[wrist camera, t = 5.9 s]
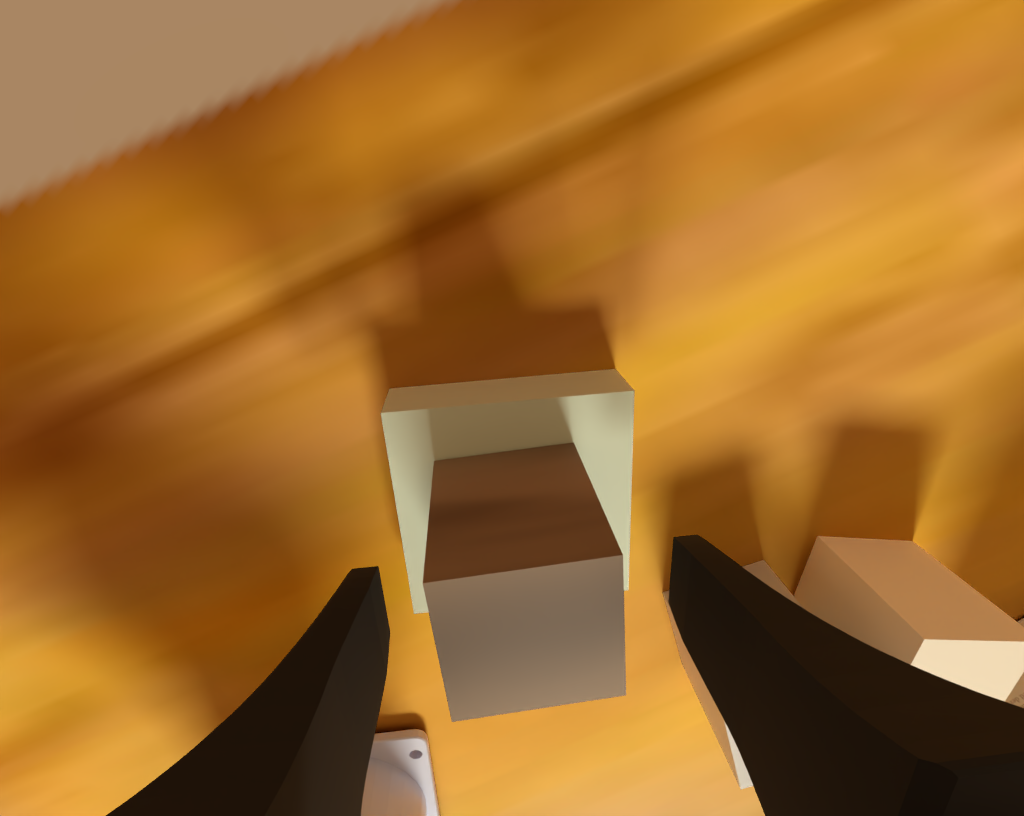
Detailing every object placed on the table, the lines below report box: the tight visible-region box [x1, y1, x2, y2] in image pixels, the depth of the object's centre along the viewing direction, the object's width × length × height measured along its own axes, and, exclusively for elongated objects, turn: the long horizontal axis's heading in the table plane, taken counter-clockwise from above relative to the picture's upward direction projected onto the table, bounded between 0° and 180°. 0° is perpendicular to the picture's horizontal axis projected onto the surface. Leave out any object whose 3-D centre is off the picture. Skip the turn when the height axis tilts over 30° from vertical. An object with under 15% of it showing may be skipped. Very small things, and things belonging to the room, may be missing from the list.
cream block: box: [794, 536, 1024, 701], centre depth 19 cm, size 4×4×5 cm
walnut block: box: [423, 442, 626, 722], centre depth 14 cm, size 4×4×5 cm
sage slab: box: [381, 369, 634, 614], centre depth 17 cm, size 7×7×2 cm
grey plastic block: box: [663, 560, 803, 789], centre depth 19 cm, size 4×4×5 cm
